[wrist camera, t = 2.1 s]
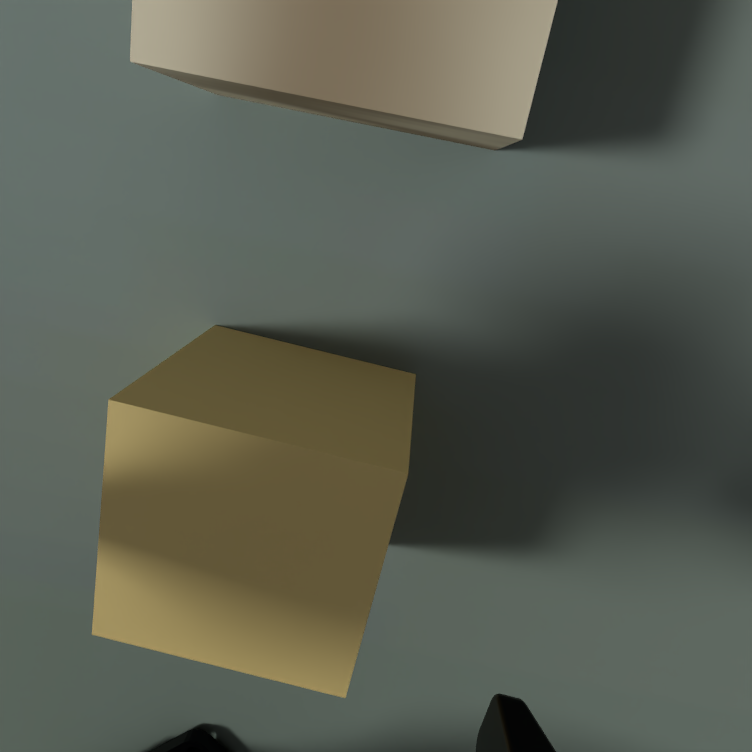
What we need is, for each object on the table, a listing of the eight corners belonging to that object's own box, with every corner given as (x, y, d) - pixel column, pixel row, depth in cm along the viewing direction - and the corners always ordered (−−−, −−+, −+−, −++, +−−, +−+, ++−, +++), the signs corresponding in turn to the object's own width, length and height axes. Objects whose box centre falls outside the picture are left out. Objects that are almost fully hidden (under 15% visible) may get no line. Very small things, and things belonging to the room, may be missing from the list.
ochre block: (415, 373, 14) (408, 473, 9) (370, 541, 16) (345, 697, 11) (216, 324, 14) (107, 399, 9) (192, 497, 16) (91, 634, 11)
